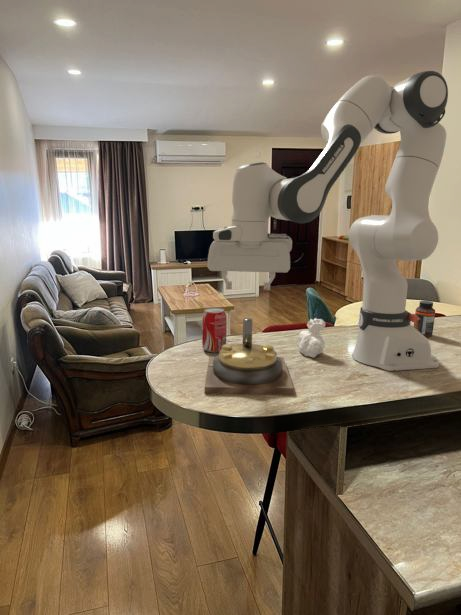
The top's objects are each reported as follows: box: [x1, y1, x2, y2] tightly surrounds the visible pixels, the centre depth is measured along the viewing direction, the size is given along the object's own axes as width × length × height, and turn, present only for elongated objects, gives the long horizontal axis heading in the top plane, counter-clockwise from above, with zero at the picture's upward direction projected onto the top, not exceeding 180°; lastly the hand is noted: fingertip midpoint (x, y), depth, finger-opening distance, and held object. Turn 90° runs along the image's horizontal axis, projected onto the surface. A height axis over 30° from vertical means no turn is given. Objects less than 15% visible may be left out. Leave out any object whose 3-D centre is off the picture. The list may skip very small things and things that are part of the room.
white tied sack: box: [296, 317, 326, 359], centre depth 125 cm, size 12×8×11 cm
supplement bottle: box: [413, 300, 436, 338], centre depth 143 cm, size 6×6×11 cm
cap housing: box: [204, 354, 295, 395], centre depth 108 cm, size 20×20×4 cm
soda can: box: [201, 307, 228, 353], centre depth 126 cm, size 7×7×12 cm
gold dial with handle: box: [218, 317, 278, 371], centre depth 106 cm, size 14×14×9 cm
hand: (247, 289), depth 109 cm, fingers open, 8 cm apart
